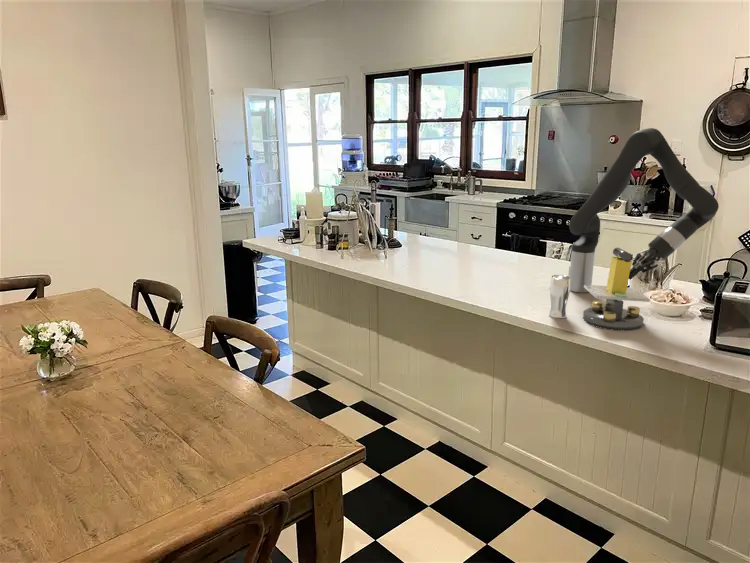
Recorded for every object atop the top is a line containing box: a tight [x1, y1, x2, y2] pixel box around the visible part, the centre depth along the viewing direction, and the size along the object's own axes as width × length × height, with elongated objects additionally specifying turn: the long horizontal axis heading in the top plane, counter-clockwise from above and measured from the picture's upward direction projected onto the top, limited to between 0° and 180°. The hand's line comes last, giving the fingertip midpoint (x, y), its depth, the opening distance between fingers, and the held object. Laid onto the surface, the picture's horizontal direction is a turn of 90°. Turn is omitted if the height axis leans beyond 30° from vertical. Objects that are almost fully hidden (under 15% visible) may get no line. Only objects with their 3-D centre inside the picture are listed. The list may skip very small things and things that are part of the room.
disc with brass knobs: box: [582, 299, 645, 331], centre depth 197 cm, size 20×20×10 cm
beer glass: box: [548, 274, 571, 320], centre depth 202 cm, size 7×7×15 cm
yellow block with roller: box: [584, 247, 651, 303], centre depth 194 cm, size 14×18×16 cm
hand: (627, 277), depth 194 cm, fingers closed
